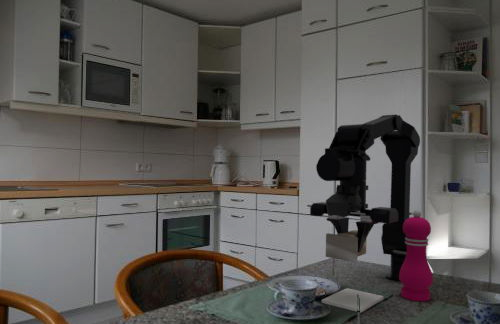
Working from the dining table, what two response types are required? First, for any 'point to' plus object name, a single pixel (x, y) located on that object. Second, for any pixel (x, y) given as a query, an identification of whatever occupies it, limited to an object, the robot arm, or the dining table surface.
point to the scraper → (344, 246)
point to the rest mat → (352, 299)
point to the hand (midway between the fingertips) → (351, 250)
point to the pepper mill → (416, 260)
